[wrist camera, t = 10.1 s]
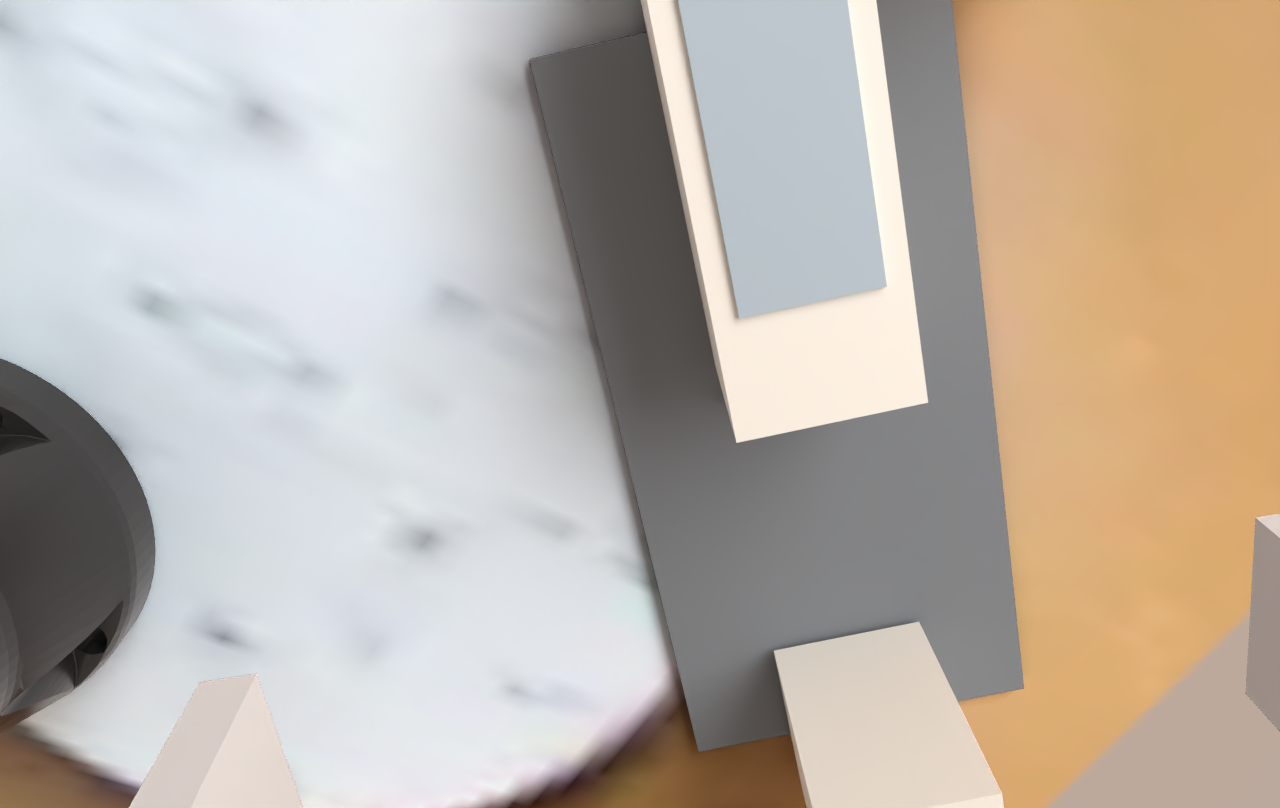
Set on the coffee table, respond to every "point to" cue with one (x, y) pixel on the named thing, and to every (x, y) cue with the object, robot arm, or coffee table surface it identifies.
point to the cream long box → (791, 206)
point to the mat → (803, 459)
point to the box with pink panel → (880, 725)
